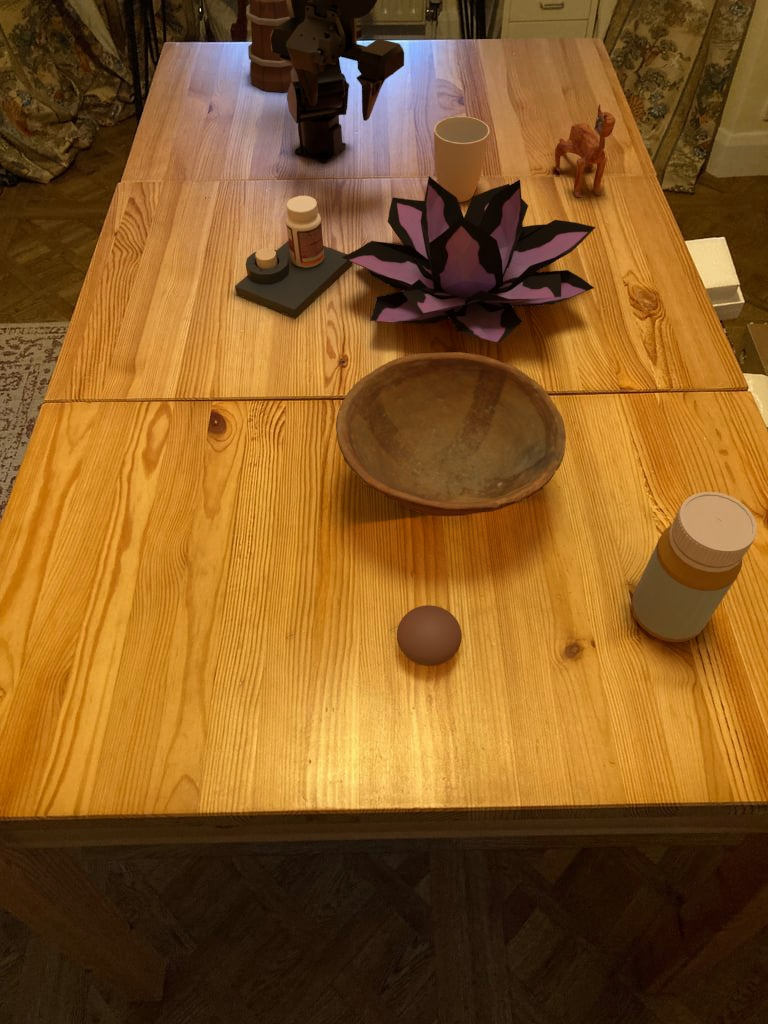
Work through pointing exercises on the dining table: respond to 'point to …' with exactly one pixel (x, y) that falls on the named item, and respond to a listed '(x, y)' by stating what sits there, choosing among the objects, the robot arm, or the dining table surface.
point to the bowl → (451, 433)
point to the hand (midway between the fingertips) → (339, 111)
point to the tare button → (266, 258)
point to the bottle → (693, 566)
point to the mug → (267, 45)
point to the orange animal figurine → (587, 148)
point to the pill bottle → (304, 232)
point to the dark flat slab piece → (290, 281)
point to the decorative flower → (470, 261)
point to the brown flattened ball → (429, 635)
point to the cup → (460, 154)
